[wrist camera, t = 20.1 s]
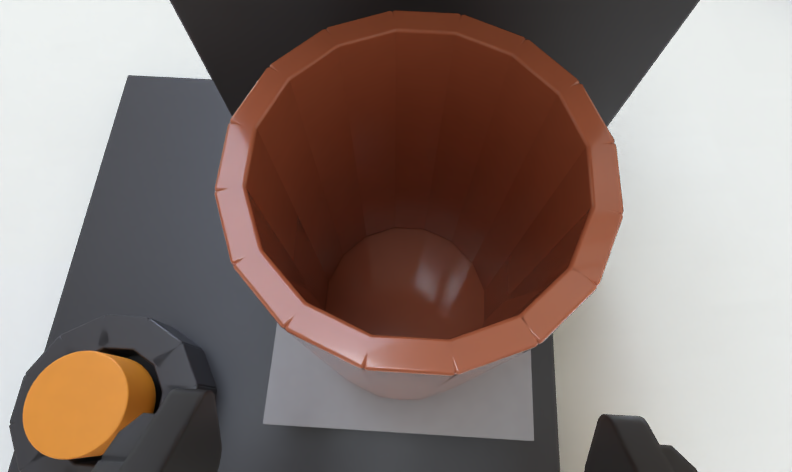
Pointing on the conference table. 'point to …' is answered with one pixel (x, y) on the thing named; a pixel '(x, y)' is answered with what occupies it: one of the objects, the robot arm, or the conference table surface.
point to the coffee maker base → (217, 308)
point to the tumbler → (418, 198)
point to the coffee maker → (492, 3)
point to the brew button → (85, 403)
